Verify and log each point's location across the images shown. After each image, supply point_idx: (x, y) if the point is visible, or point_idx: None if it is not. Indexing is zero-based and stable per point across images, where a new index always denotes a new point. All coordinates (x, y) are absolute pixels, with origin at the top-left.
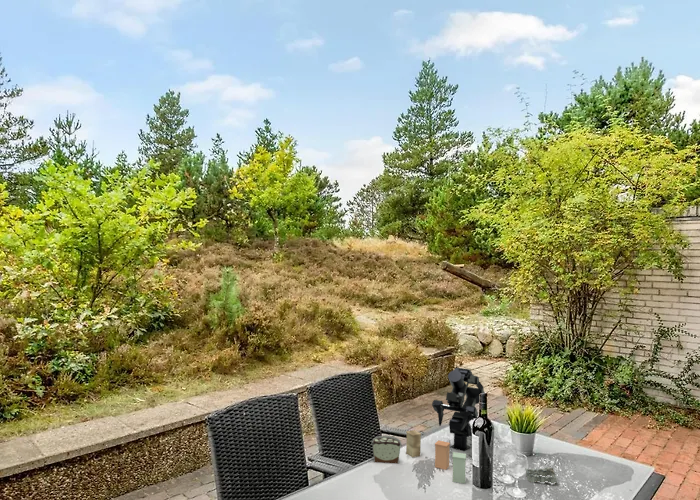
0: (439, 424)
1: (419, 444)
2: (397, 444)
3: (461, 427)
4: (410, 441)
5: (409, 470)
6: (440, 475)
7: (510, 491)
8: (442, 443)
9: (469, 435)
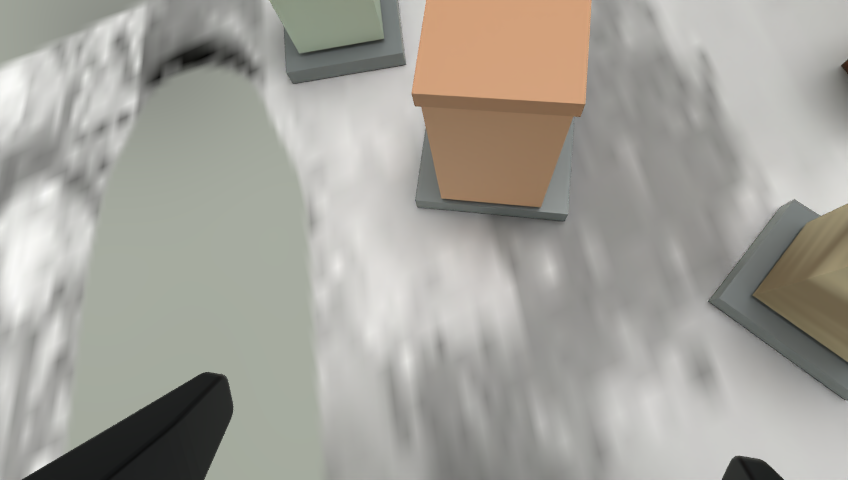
0: (753, 463)
1: (841, 260)
2: None
3: (189, 391)
4: None
5: (728, 54)
6: None
7: (41, 81)
8: (502, 28)
9: None
